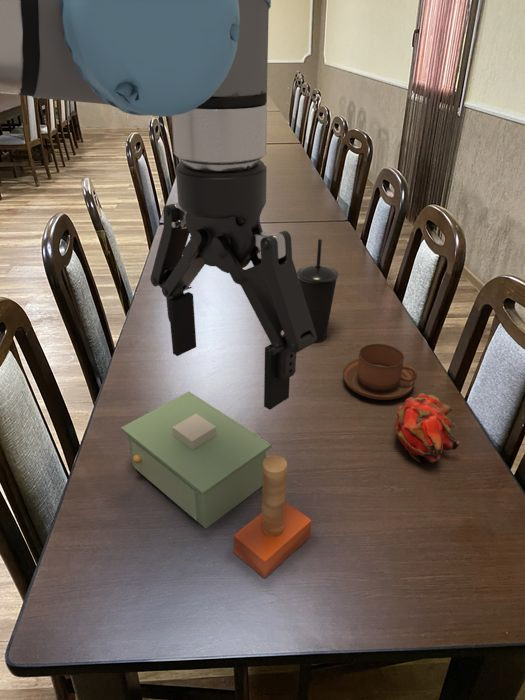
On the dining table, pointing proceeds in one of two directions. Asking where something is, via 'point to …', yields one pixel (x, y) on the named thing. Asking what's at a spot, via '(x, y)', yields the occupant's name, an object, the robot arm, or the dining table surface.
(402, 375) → the cup and saucer
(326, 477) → the dining table surface
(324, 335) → the drinking cup
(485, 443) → the dining table surface
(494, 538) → the dining table surface
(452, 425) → the dragon fruit
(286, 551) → the wooden peg on base
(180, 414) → the cabinet
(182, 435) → the beige square tile
